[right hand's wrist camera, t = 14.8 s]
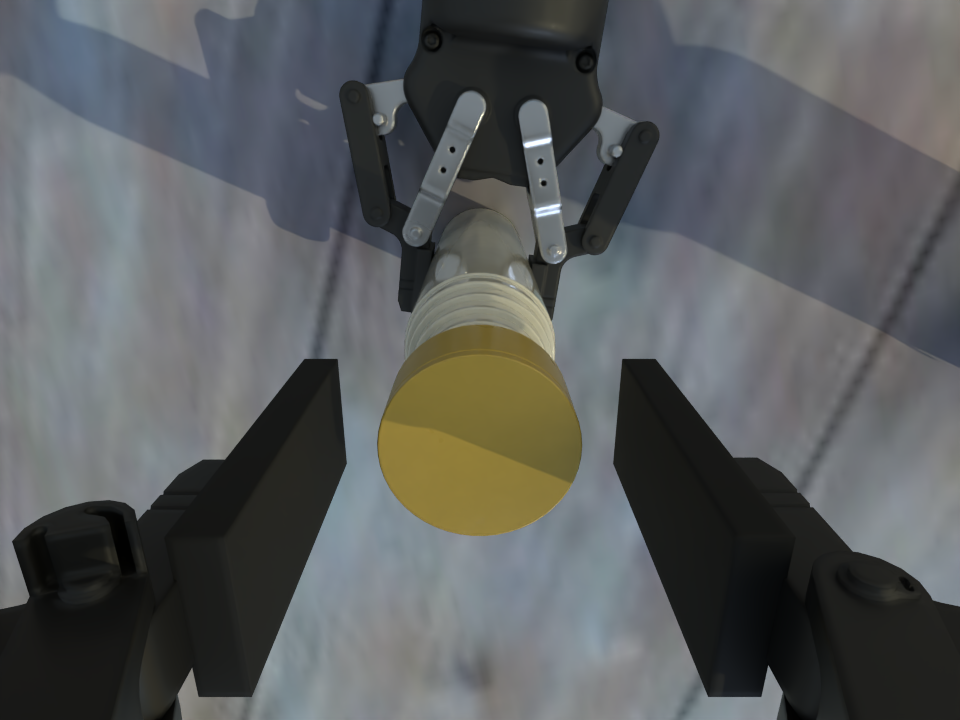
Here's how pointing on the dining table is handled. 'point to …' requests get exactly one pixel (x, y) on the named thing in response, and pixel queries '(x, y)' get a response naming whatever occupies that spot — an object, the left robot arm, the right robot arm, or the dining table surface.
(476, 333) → the cap
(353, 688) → the dining table surface
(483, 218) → the bottle
